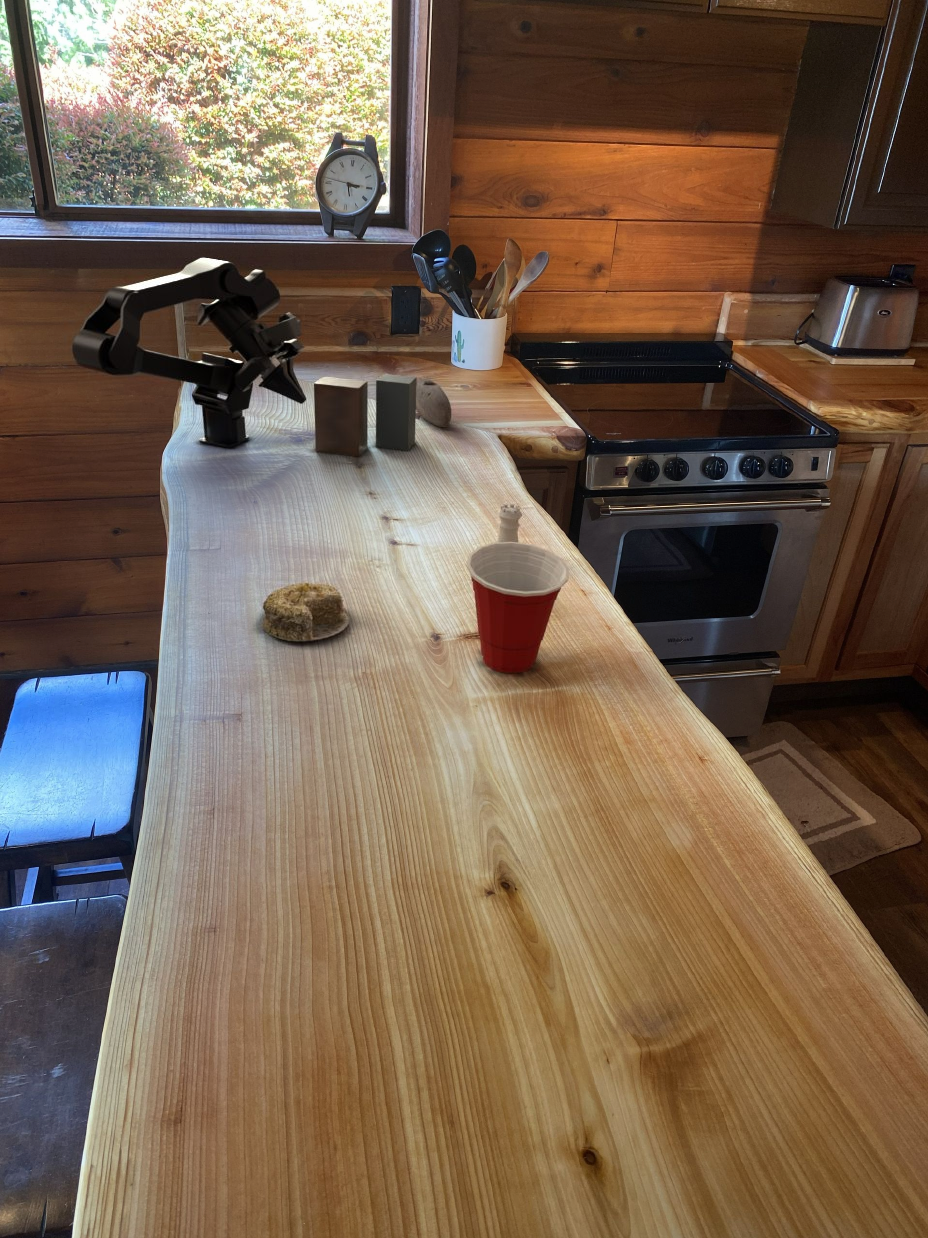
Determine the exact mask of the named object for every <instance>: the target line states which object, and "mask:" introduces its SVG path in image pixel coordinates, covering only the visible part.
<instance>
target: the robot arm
mask: <svg viewBox="0 0 928 1238" xmlns="http://www.w3.org/2000/svg"><path fill="white" fill-rule="evenodd" d="M194 300H214V301H213V302H211V303H204V302H201V303H200V304H199V306H198V308H197V310H196V311H197V316H198V317H197V326H199V327H202V326H203V325H204V324H207V323H208V322H210V323H211V324H212V325H213V326H214V328H215V329H216V330H217V331H218V332H219V333H220V335H222V336H223V338H225V340H226V341H227V342H228V343H229V344H230V347H229V348H228V350H229V351H230V352H231V353H232V354H235V353H238V354H239V355H240V357H241V358H242V359H243V360H244V361H241V360H238V359H237V360H236V359H233V358H229V357H223V356H219V355H215V354H210V353H207V352H202V353H201V360H199V361H195V360H190V359H186V358H182V357H178V356H173V355H169V354H165V353H161V352H155V351H151V350H148V349H144V348H143V347H141V346H140V345H139V343H140V338H141V320H142V319H143V316H144V315H145V314H147V313H151V312H154V311H155V312H156V311H158V310H162V309H167V308H169V307H173V306H176V305H180V304H184V303H188V302H190V301H194ZM280 302H281V293H280V290H279V289H278V288H277V286H276V285H275V283H274V282H273V280H271V279H270V278H268V277H267V274H266V271H265V270H261V269H254V270H252V271H251V272H249V275H247V276H246V277H244V276H243V275H242V274H240V272H239V270H238V268H237V267H236V265H235V264H234V263H233V262H231V261H225V260H218V259H213V258H206V257H200V258H198V259H196V260H194V261H192V262H190V263H188V264H186V265H185V267H184V268H183V269H182V270H180V271H179V272H177V273H174V274H169V275H165V276H161V277H157V278H154V279H149V280H145V281H141V282H137V283H133V284H129V285H124V286H115V287H111V288H110V289H108V291H107V292H106V293H105V295H104V297H103V299H102V301H101V303H100V304H99V305H98V306H97V307H96V308H95V309H94V310H93V311H92V312H91V313H90V314H89V315H88V316H87V317H86V318H85V320H84V321H83V324H82V326H81V327H80V330H79V332H78V333H77V334H76V335H75V337H74V339H73V340H72V345H71V352H72V356H73V358H74V360H75V362H76V365H78V366H79V367H82V368H84V369H87V370H91V371H96V372H99V373H103V374H106V375H111V376H134V375H137V374H146V375H150V376H155V377H158V378H159V377H160V378H165V379H170V380H174V381H179V382H184V383H188V384H189V383H190V384H194V385H196V386H195V388H194V389H193V391H192V393H191V398H192V400H193V402H194V405H196V406H200V407H201V412H202V423H203V435H204V436H203V437H201V438H199V439H198V441H199V443H201V444H205V445H206V444H207V445H211V446H218V447H221V448H228V449H229V448H230V449H231V448H232V447H234V446H237V445H239V444H241V443H243V442H245V441H247V440H250V435H247V433H246V431H247V430H246V417H245V416H244V414H243V413H244V412H243V411H245V410H248V409H249V408H250V403H251V400H252V399H251V398H252V393H253V387H254V382H255V381H256V380H257V379H258V378H259V376H260V379H261V380H262V381H261V382H260V383H258V387H259V388H263V389H266V390H268V391H271V392H274V393H276V394H278V395H279V396H280V395H281V396H283V397H285V398H286V399H289V400H291V401H294V402H296V403H298V404H300V405H303V404H304V403H305V402H306V401H307V397H306V395H305V392H304V391H303V388H302V386H301V384H300V382H299V380H298V378H297V376H296V373H295V371H294V363H295V360H296V357H297V356H298V355H299V354H300V353H301V352H302V351H303V350H304V349H305V346H304V345H303V344H302V343H301V342H300V341H299V339H297V338H298V337H299V336H302V335H303V332H302V329H301V326H302V321H301V320H300V319H298V318H297V316H296V315H295V316H294V315H293V314H292V313H291V312H290V311H289V312H287V313H284V314H282V315H280V316H279V317H278V323H276V324H273V325H272V326H268V325H267V324H266V323H264V322H262V321H260V322H256V321H257V320H258V319H260V318H261V317H262V316H264V315H265V314H267V313H268V312H269V311H271V310H273V309H274V308H276V307H277V306H278V305H279V304H280ZM118 321H120V322H119V323H120V324H119V329H118V331H117V333H116V334H112V333H107V331H109V330H110V329H111V327H112V326H113V325H114V324H116V322H118ZM220 396H223V397H220ZM224 397H226V398H224Z"/></svg>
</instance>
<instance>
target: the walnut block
mask: <svg viewBox="0 0 928 1238" xmlns="http://www.w3.org/2000/svg"><path fill="white" fill-rule="evenodd" d="M368 385H369V384H368V380H362V379H361V380H360V379H350V378H341V377H331V376H323V377H321V378H318V380H316V381H315V382H313V402H314V403H313V404H314V405H313V407H314V437H315V438H314V440H315V441H314V443H315V452H316V453H317V452H318V453H319V452H320V453H327V454H336V455H343V456H350V457H358V458H359V457H360V456H361V455H362V454H363V453H364V452H366V450H367V449H368V448H369V447H368V446H369V445H368V443H369V441H368V440H369V439H368V437H369V436H368V434H369V433H368V431H369V430H368V426H369V425H368V421H369V420H368V419H369V418H368V417H369V416H368V413H369V412H368V411H369V410H368V409H369V408H368V407H369V405H368V403H369V402H368V400H369V399H368V395H369V391H368V388H369V387H368Z"/></svg>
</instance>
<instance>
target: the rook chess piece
mask: <svg viewBox="0 0 928 1238" xmlns="http://www.w3.org/2000/svg"><path fill="white" fill-rule="evenodd" d="M497 515H498V517H499V518H500V521H499V522H498V526H499V531H498V532H499V533H498V535H497V540H496V543H497V542H518V543H519V533H518V532H519V528H520V526H521V525H520V523H519V520H520V519H521V518H522V517H523V513H522V511H521V507H520V506H519V505H518V504H516V505H515V504H514V503H510V504H509V506H508V503H504V504H501V506H500V509H499V510H498V512H497Z"/></svg>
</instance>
